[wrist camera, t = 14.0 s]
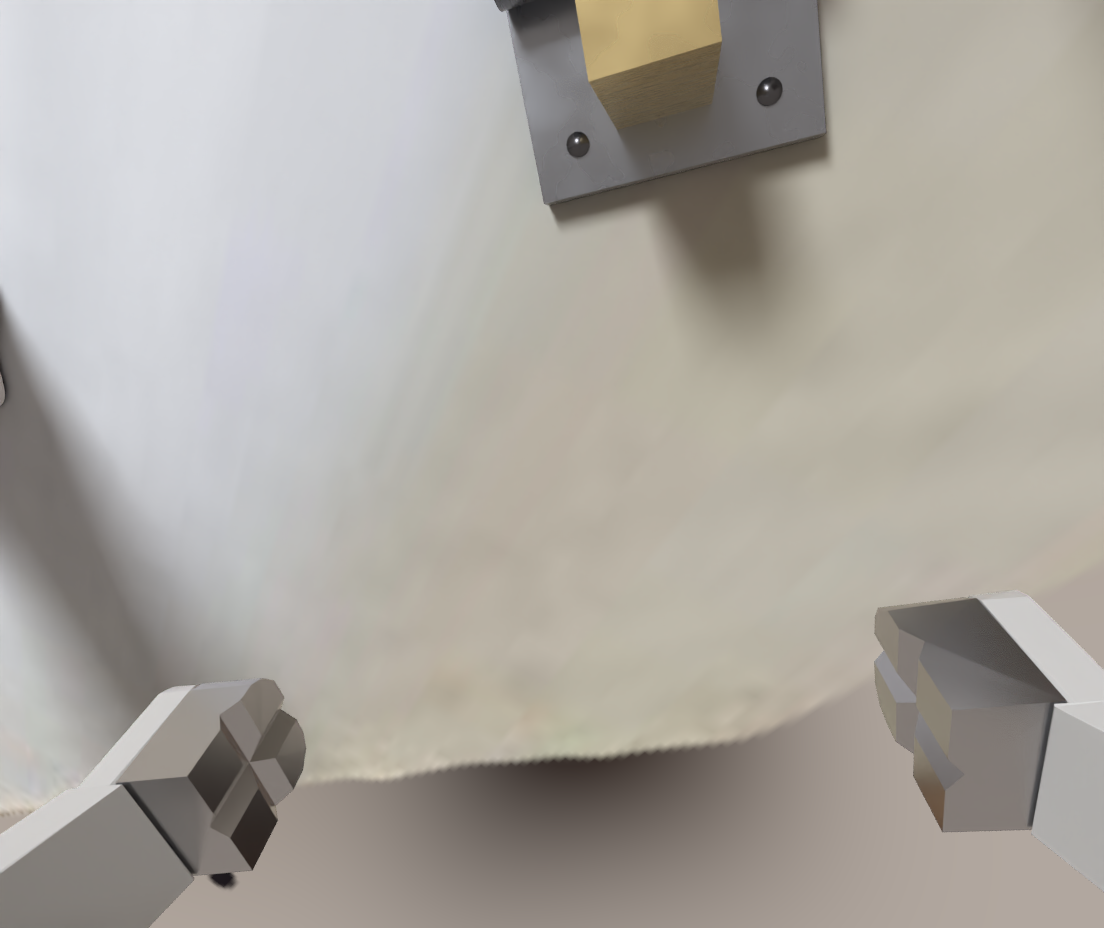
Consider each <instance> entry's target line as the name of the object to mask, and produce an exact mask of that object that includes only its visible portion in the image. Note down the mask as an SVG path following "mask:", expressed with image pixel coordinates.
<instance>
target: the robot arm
mask: <svg viewBox="0 0 1104 928" xmlns="http://www.w3.org/2000/svg"><path fill="white" fill-rule="evenodd" d="M4 399H5V390H4V385H3V380H2V377H1V373H0V405H2V403H3V402H4ZM874 634H875V635H876V637H877V639H878V641H879V642H880V644H881V646H882V648H883V649H884V651H883V652H882V653H881V654H880V656H879V657H878V658H877V659H876V660H875V661H874V667H875V685H876V689H877V694H878V699H879V703H880V707H881V709H882V712H883V715H884V717H885V720H886V722H887V725H888V727H889V729H890V731H891V733H892V735H893V737H894V739H895V741H896V742H897V743H899V744H900V745H901V746H903V747H904V748H906V749H907V750H909V751H910V752H912V753H913V754H914V766H913V769H914V770H913V776H914V778H915V780H916V782H917V784H918V786H919V788H920V790H921V792H922V794H923V796H924V798H925V800H926V801H927V803H928V805H929V807H930V809H931V811H932V813H933V815H934V817H935V819H936V820H937V823H938V825H939V826H940V828H941V830H942V832H967V831H999V830H1000V831H1001V830H1032V832H1031V834H1032V835H1033V836H1034V837H1035V838H1037V839H1038V840H1039V841H1040V842H1042V843H1043V844H1044V845H1046V846H1047V847H1048V848H1049V849H1051V850H1052V851H1053V852H1054V853H1056V854H1057V855H1058V856H1059V857H1061V858H1062V859H1063V860H1064V861H1066V862H1067V863H1068V864H1069V865H1071V866H1072V867H1073V868H1074V869H1076V870H1077V871H1078V872H1079V873H1081V874H1082V875H1083V876H1084V877H1086V878H1087V879H1088V880H1089V881H1091V882H1092V883H1093V884H1095V885H1096V886H1097V887H1098V888H1099V889H1101V890H1102V891H1103V892H1104V669H1103V668H1102V667H1101V666H1100V665H1099V664H1098V663H1097V662H1096V661H1095V660H1094V659H1093V658H1092V657H1091V656H1090V655H1089V654H1088V653H1087V652H1086V651H1085V650H1084V649H1083V648H1082V647H1081V646H1079V644H1078V643H1077V642H1076V641H1075V640H1073V638H1071V637H1070V636H1069V635H1068V634H1067V633H1066V632H1065V631H1064V630H1063V629H1062V628H1061V627H1060V626H1059V625H1058V624H1057V623H1056V622H1055V621H1054V620H1053V619H1052V618H1051V617H1050V616H1049V615H1048V614H1047V613H1046V612H1045V611H1044V610H1043V609H1042V608H1041V607H1040V606H1039V605H1038V604H1037V603H1036V602H1035V601H1034V600H1033V599H1032V598H1031V597H1030V596H1029V595H1028V594H1025V593H1023V592H1021V591H1019V590H1011V591H1003V592H995V593H988V594H980V595H973V596H969V597H968V598H965V597H962V598H954V599H946V600H938V601H930V602H921V603H913V604H905V605H897V606H888V607H880V608H878V610H877V612H876V615H875V632H874ZM283 700H284V696H283V694H282V693H281V691H280V689H279V688H278V686H277V685H276V683H275V681H274V680H269V679H263V678H259V679H248V680H236V681H225V682H213V683H203V684H201V685H188V686H175V687H172V688H169V689H167V690H165V691H163V692H161V693H159V694H158V695H157V697H156V698H155V699H154V700H153V701H152V702H151V704H150V705H149V706H148V707H147V708H146V709H145V710H144V712H143V713H142V714H141V715H140V716H139V717H138V719H137V720H136V721H135V722H134V723H133V724H132V725H131V727H130V728H129V729H128V730H127V731H126V732H125V734H124V735H123V736H122V737H121V738H120V739H119V740H118V742H117V743H116V744H115V745H114V746H113V747H112V749H111V750H110V751H109V752H108V753H107V754H106V755H105V757H104V758H103V759H102V760H101V761H100V762H99V764H98V765H97V766H96V767H95V768H94V769H93V770H92V772H91V773H90V774H89V775H88V776H87V777H86V779H85V780H84V781H83V782H82V783H81V784H80V785H79V787H78V788H72V789H67V790H65V791H64V792H62V793H61V794H59V795H58V796H56V797H55V798H53V799H52V800H50V801H49V802H47V803H46V804H44V805H43V806H42V807H40V808H39V809H37V810H36V811H34V812H33V813H31V814H30V815H28V816H27V817H25V818H24V819H23V820H21V821H19V822H18V823H16V824H15V825H13V826H12V827H11V828H9V829H8V830H6V831H5V832H3V833H2V834H0V928H149V927H150V925H151V924H152V923H153V922H154V921H155V920H156V919H157V918H158V917H159V916H160V915H161V914H162V913H163V912H164V911H165V910H166V909H167V908H168V907H169V906H170V904H172V903H173V901H174V900H175V899H176V898H177V897H178V896H179V895H180V894H181V893H182V892H183V891H184V890H185V889H186V888H187V887H188V886H189V885H190V884H191V883H192V882H193V881H194V877H193V876H197V875H208V874H219V873H230V872H240V871H251V870H253V868H254V866H255V864H256V862H257V860H258V858H259V857H260V855H261V852H262V851H263V849H264V847H265V845H266V843H267V841H268V839H269V837H270V835H271V833H272V831H273V829H274V827H275V825H276V823H277V821H278V818H277V811H276V805H277V804H278V803H279V802H280V801H281V800H282V799H284V798H285V797H286V796H287V795H288V794H289V793H290V792H291V791H292V790H293V789H294V787H295V785H296V783H297V781H298V779H299V777H300V775H301V773H302V771H303V766H304V759H305V753H306V744H305V739H304V733H303V731H302V729H301V727H300V725H299V723H298V721H297V719H295V718H293V717H292V716H290V715H289V714H287V713H286V712H284V711H283V710H281V707H282V704H283Z"/></svg>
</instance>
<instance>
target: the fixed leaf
mask: <svg viewBox="0 0 1104 928" xmlns="http://www.w3.org/2000/svg"><path fill="white" fill-rule="evenodd" d="M494 1H495V3H496V5H497V7H498V8H499V10H500V11H501V12H503V11H506V12H507V17H508V22H509V27H510V32H511V37H512V42H513V47H514V53H515V58H516V63H517V68H518V73H519V78H520V83H521V88H522V93H523V98H524V104H525V109H526V114H527V119H528V124H529V129H530V134H531V139H532V144H533V150H534V155H535V160H536V165H537V170H538V175H539V180H540V185H541V190H542V195H543V201H544V204H546V205H553V204H557V203H561V202H565V201H569V200H573V199H576V198H580V197H584V196H588V195H592V194H596V193H600V192H604V191H608V190H612V189H616V188H620V187H624V186H628V185H632V184H636V183H640V182H644V181H648V180H652V179H656V178H660V177H664V176H667V175H671V174H675V173H679V172H683V171H687V170H691V169H695V168H699V167H703V166H707V165H711V164H715V163H719V162H723V161H727V160H731V159H735V158H739V157H743V156H747V155H751V154H755V153H758V152H762V151H766V150H770V149H774V148H778V147H782V146H786V145H790V144H794V143H798V142H802V141H806V140H810V139H814V138H818V137H821V136H822V135H824V134H825V133H826V125H825V110H824V95H823V81H822V66H821V51H820V37H819V22H818V7H817V0H718V9H719V18H720V27H721V36H722V44H721V51H720V57H719V63H718V70H717V76H716V82H715V89H714V95H713V101H712V104H709V105H705V106H702V107H698V108H694V109H691V110H687V111H684V112H680V113H676V114H673V115H669V116H666V117H662V118H659V119H655V120H651V121H648V122H644V123H641V124H637V125H633V126H630V127H626V128H623V129H619V130H617V129H616V128H615V126H614V124H613V122H612V121H611V119H610V117H609V116H608V114H607V112H606V111H605V109H604V107H603V105H602V104H601V102H600V100H599V99H598V97H597V95H596V94H595V92H594V90H593V88H592V87H591V85H590V83H589V81H588V75H587V70H586V64H585V58H584V52H583V46H582V40H581V34H580V28H579V22H578V16H577V10H576V4H575V0H494Z"/></svg>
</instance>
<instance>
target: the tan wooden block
mask: <svg viewBox="0 0 1104 928" xmlns="http://www.w3.org/2000/svg"><path fill="white" fill-rule="evenodd" d="M575 4H576V10H577V16H578V22H579V28H580V34H581V40H582V46H583V52H584V58H585V64H586V70H587V75H588V81H589V83H590V85H591V87H592V88H593V90H594V92H595V94H596V95H597V97H598V99H599V100H600V102H601V104H602V105H603V107H604V109H605V111H606V112H607V114H608V116H609V117H610V119H611V121H612V122H613V124H614V126H615V128H616V129H617V130H619V129H623V128H626V127H630V126H633V125H637V124H641V123H644V122H648V121H651V120H655V119H659V118H662V117H666V116H669V115H673V114H676V113H680V112H684V111H687V110H691V109H694V108H698V107H702V106H705V105H709V104H712V101H713V95H714V89H715V82H716V76H717V70H718V63H719V57H720V51H721V44H722V36H721V27H720V18H719V9H718V0H575Z"/></svg>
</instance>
